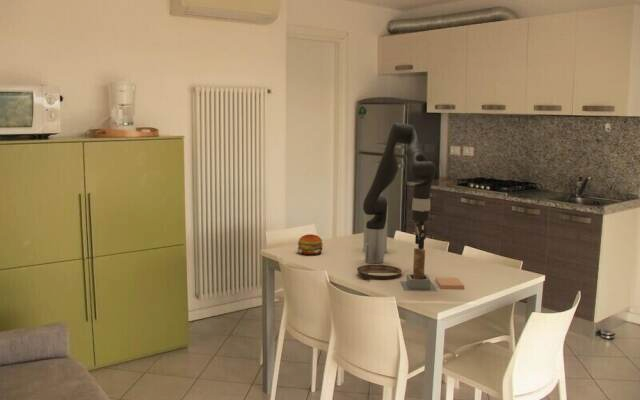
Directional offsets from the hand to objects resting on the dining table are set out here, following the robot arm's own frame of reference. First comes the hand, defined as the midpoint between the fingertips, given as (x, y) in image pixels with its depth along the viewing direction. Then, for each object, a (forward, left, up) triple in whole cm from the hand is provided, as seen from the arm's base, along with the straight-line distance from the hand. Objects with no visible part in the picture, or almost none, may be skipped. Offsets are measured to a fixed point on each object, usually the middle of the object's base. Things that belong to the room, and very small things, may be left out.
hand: (419, 246), depth 256 cm
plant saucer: (-15, +19, -19) cm, 31 cm away
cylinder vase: (-13, +68, -19) cm, 72 cm away
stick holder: (0, 0, -19) cm, 19 cm away
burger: (-48, +62, -19) cm, 81 cm away
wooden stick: (0, 0, -18) cm, 18 cm away
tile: (+14, +9, -17) cm, 24 cm away
